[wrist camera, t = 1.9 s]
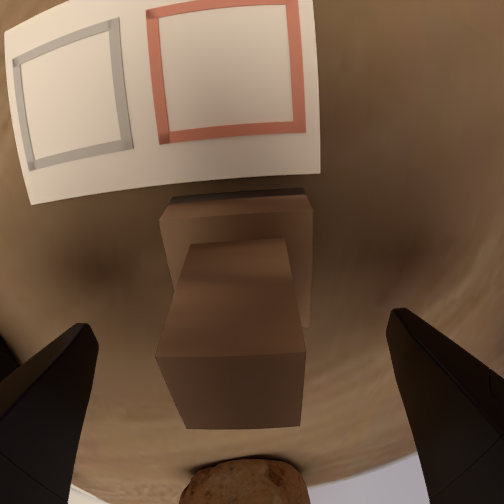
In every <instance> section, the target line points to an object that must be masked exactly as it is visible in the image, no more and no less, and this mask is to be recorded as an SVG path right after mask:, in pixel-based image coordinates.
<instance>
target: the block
mask: <svg viewBox="0 0 504 504" xmlns="http://www.w3.org/2000/svg"><path fill="white" fill-rule="evenodd" d="M179 504H310V499H309V495H308V491H307V487H306V484H305V481H304V480H303V478H302V477H301V475H300V473H299V472H298V471H297V470H296V469H295V468H294V467H292V466H291V465H290V464H288V463H285V462H283V461H275V460H266V459H239V460H233V461H228V462H223V463H220V464H218V465H217V466H215V467H208V468H205V469H202V470H199V471H198V472H197V473H196V474H195V476H194V477H193V478H191V481H190V483H189V484H188V485H187V487H186V488H185V489H184V491H183V492H182V494H181V497H180V501H179Z"/></svg>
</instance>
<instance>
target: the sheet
mask: <svg viewBox="0 0 504 504" xmlns="http://www.w3.org/2000/svg"><path fill="white" fill-rule="evenodd" d="M4 38H5V62H6V76H7V86H8V95H9V103H10V110H11V117H12V123H13V129H14V135H15V140H16V145H17V150H18V155H19V160H20V164H21V168H22V173H23V177H24V181H25V185H26V188H27V192H28V196H29V199H30V203H31V205H34V204H40V203H45V202H50V201H56V200H61V199H67V198H73V197H79V196H85V195H92V194H98V193H105V192H111V191H119V190H126V189H133V188H141V187H149V186H157V185H166V184H175V183H185V182H195V181H205V180H217V179H229V178H242V177H257V176H274V175H294V174H320V113H319V86H318V67H317V50H316V36H315V23H314V12H313V1H312V0H69V1H67V2H65V3H62V4H60V5H58V6H55V7H53V8H51V9H49V10H47V11H44V12H42V13H40V14H38V15H36V16H34V17H32V18H30V19H28V20H26V21H24V22H22V23H21V24H19V25H17V26H15V27H13V28H12V29H10V30H8V31H6V32H5V33H4Z"/></svg>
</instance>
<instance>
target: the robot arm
mask: <svg viewBox="0 0 504 504" xmlns="http://www.w3.org/2000/svg"><path fill="white" fill-rule="evenodd" d="M386 338H387V342H388V346H389V351H390V355H391V360H392V364H393V369H394V374H395V378H396V382H397V385H398V388H399V391H400V395H401V398H402V401H403V404H404V407H405V410H406V414H407V417H408V420H409V424H410V427H411V430H412V434H413V437H414V441H415V444H416V448H417V452H418V455H419V459H420V463H421V467H422V471H423V475H424V479H425V483H426V487H427V492H428V496H429V499H430V500H429V501H430V504H504V378H502V377H501V376H499V375H498V374H497V373H495V372H494V371H493V370H492V369H489V367H487V366H486V365H485V364H483V363H482V362H481V361H479V360H478V359H477V358H475V357H474V356H473V355H471V354H470V353H468V352H467V351H466V350H464V349H463V348H462V347H460V346H459V345H458V344H456V343H455V342H453V341H452V340H451V339H449V338H448V337H446V336H445V335H444V334H442V333H441V332H439V331H438V330H437V329H435V328H434V327H432V326H431V325H430V324H428V323H427V322H425V321H424V320H423V319H421V318H420V317H418V316H417V315H415V314H414V313H413V312H411V311H410V310H408V309H407V308H396V309H393V310H392V311H391V313H390V317H389V321H388V325H387V329H386ZM98 351H99V345H98V341H97V339H96V337H95V335H94V333H93V331H92V329H91V327H90V325H89V324H87V323H76V324H75V325H73V326H72V327H71V328H69V329H68V330H67V331H65V332H64V333H63V334H61V335H60V336H59V337H57V338H56V339H55V340H54V341H52V342H51V343H50V344H48V345H47V346H46V347H44V348H43V349H42V350H41V351H39V352H38V353H37V354H35V355H34V356H33V357H32V358H30V359H29V360H28V361H27V362H25V363H24V364H23V365H21V366H20V367H19V366H18V364H17V363H16V361H15V360H14V358H13V357H12V355H11V354H10V352H9V351H8V349H7V348H6V346H5V344H4V343H3V341H2V340H1V338H0V504H68V502H67V501H68V498H69V492H70V485H71V480H72V474H73V469H74V464H75V458H76V453H77V449H78V444H79V439H80V435H81V431H82V426H83V422H84V418H85V414H86V410H87V406H88V402H89V398H90V394H91V390H92V385H93V379H94V373H95V367H96V361H97V356H98Z"/></svg>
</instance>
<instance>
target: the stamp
mask: <svg viewBox="0 0 504 504" xmlns="http://www.w3.org/2000/svg"><path fill="white" fill-rule="evenodd" d="M159 226H160V230H161V235H162V240H163V244H164V249H165V253H166V258H167V262H168V267H169V271H170V275H171V279H172V283H173V288H174V295H173V299H172V302H171V305H170V308H169V311H168V315H167V318H166V321H165V325H164V328H163V331H162V335H161V338H160V342H159V345H158V348H157V352H156V355H155V357H156V360H157V362H158V365H159V367H160V370H161V372H162V375H163V377H164V380H165V382H166V384H167V387H168V389H169V391H170V394H171V396H172V398H173V400H174V403H175V405H176V407H177V409H178V411H179V414H180V416H181V418H182V420H183V422H184V424H185V426H186V428H187V429H264V428H281V427H294V426H300V421H301V410H302V398H303V386H304V373H305V359H306V349H305V343H304V338H303V332H302V328H309V325H310V306H311V283H312V252H313V208H312V206H311V204H310V202H309V200H308V198H307V195H306V193H305V191H304V189H303V188H290V189H271V190H255V191H240V192H227V193H214V194H202V195H191V196H181V197H173V198H172V200H171V201H170V203H169V205H168V206H167V208H166V209H165V211H164V213H163V214H162V216H161V217H160V219H159Z"/></svg>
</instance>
